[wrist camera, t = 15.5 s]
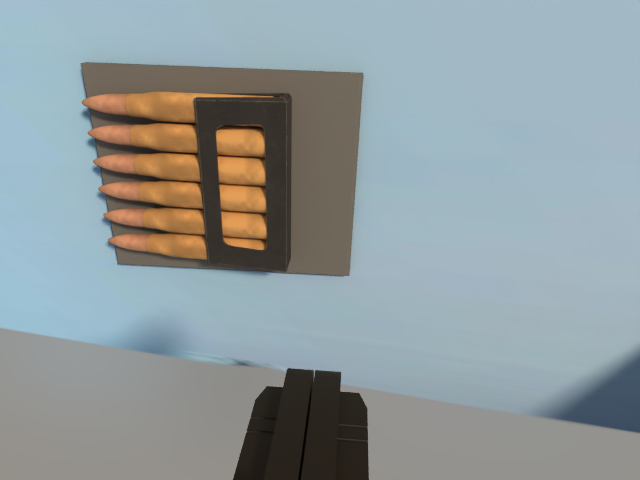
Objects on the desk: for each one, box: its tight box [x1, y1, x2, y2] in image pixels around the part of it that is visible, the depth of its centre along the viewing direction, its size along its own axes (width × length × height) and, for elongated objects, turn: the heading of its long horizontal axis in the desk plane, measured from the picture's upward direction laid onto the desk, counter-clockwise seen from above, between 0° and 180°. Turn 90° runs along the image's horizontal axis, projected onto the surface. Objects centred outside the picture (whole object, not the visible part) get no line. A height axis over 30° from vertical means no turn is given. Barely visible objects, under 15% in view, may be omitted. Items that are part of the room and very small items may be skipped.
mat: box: [81, 62, 363, 276], centre depth 28 cm, size 16×13×1 cm
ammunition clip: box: [82, 92, 292, 272], centre depth 27 cm, size 11×2×12 cm
